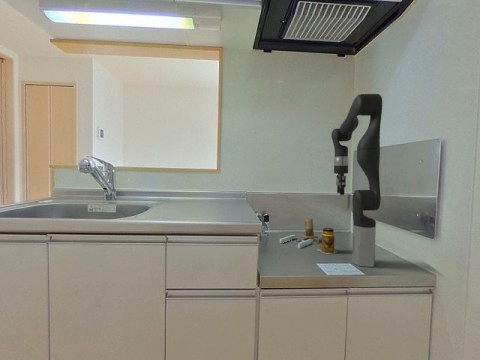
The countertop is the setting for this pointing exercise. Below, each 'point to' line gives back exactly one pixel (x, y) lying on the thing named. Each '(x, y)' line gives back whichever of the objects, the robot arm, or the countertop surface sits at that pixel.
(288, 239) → the pale blue rack
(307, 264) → the countertop surface
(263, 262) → the countertop surface
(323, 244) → the condiment
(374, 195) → the robot arm
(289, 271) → the countertop surface
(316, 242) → the coaster
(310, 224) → the wooden peg stand
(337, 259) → the countertop surface
